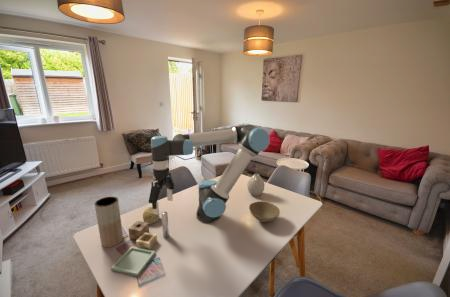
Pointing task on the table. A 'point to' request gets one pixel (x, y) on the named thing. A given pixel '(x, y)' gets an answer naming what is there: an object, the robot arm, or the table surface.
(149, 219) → the decorative item
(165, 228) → the cylinder
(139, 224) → the block
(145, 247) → the block
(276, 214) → the bowl
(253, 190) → the vase
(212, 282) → the table surface
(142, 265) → the tray
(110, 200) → the planter
